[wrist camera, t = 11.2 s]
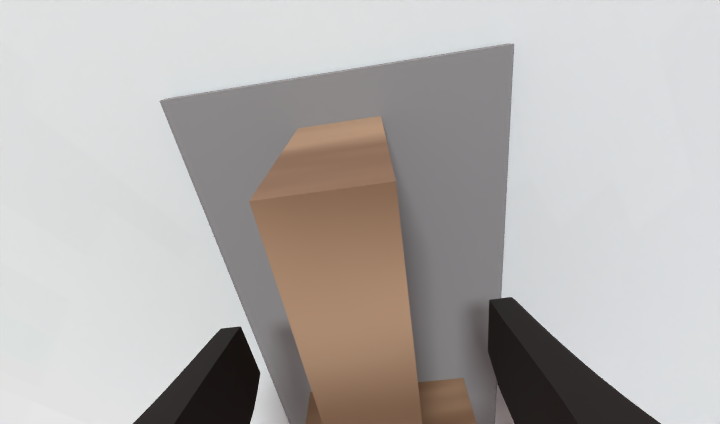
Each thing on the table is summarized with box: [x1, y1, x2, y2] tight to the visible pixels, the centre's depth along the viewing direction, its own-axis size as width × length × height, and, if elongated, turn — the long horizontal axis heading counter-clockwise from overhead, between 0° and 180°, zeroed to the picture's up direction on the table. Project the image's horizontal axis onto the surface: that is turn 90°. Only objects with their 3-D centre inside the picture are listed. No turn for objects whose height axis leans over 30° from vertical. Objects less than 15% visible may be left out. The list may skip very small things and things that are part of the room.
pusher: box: [249, 116, 477, 424], centre depth 11 cm, size 13×7×5 cm, turn 9°
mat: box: [160, 44, 514, 424], centre depth 14 cm, size 10×17×1 cm, turn 8°
